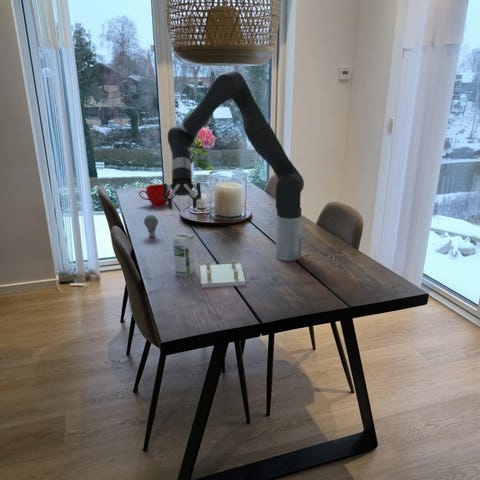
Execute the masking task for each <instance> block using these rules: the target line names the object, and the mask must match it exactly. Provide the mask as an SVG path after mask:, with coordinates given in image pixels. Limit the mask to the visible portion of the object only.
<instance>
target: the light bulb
mask: <svg viewBox="0 0 480 480" xmlns="http://www.w3.org/2000/svg"><path fill="white" fill-rule="evenodd" d="M143 223H144V226H145V227H146V228H147V232H148V235H149V237H150V238H153V237H155V236H156V228H157V226H158V225H159V219H158V217H157V216H156V215H154V214H149V215H146V216H145V218H144V220H143Z"/></svg>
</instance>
